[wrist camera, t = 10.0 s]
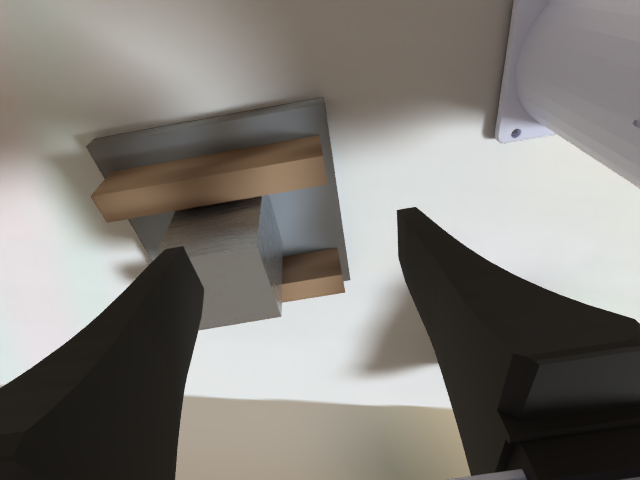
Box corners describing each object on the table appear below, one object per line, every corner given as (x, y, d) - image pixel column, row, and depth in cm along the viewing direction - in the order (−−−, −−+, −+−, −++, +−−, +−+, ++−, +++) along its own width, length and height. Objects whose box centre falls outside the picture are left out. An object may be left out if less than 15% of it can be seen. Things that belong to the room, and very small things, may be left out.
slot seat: (323, 97, 19) (329, 121, 16) (348, 270, 26) (355, 307, 23) (94, 138, 19) (61, 169, 16) (182, 297, 26) (170, 336, 24)
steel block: (263, 177, 20) (256, 245, 15) (282, 241, 23) (281, 316, 18) (183, 192, 20) (151, 264, 15) (211, 253, 23) (192, 331, 18)
